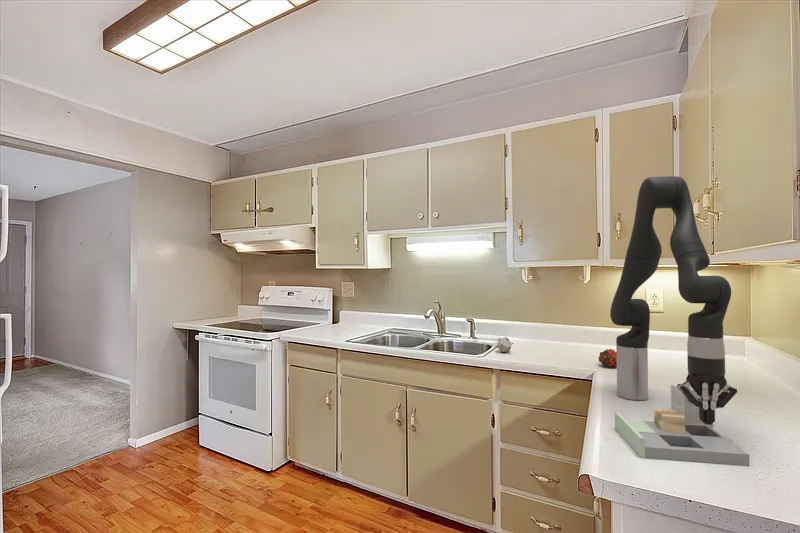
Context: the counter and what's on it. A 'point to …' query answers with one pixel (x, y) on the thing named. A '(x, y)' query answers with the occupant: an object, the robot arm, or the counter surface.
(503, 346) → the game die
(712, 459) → the grey slotted tray
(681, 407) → the small box
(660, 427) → the block
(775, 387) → the counter surface
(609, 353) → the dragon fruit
